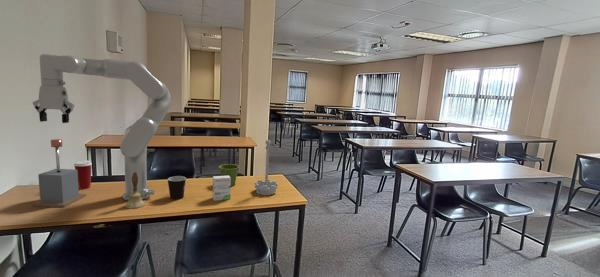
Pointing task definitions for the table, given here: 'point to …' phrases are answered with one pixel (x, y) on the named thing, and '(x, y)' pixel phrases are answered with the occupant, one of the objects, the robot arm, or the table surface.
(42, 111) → the robot arm
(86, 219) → the table surface
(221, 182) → the ink box
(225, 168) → the plant pot
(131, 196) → the hand bell
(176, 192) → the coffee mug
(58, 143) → the plunger
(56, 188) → the block
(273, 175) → the table surface
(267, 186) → the flag stand
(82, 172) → the paper cup
